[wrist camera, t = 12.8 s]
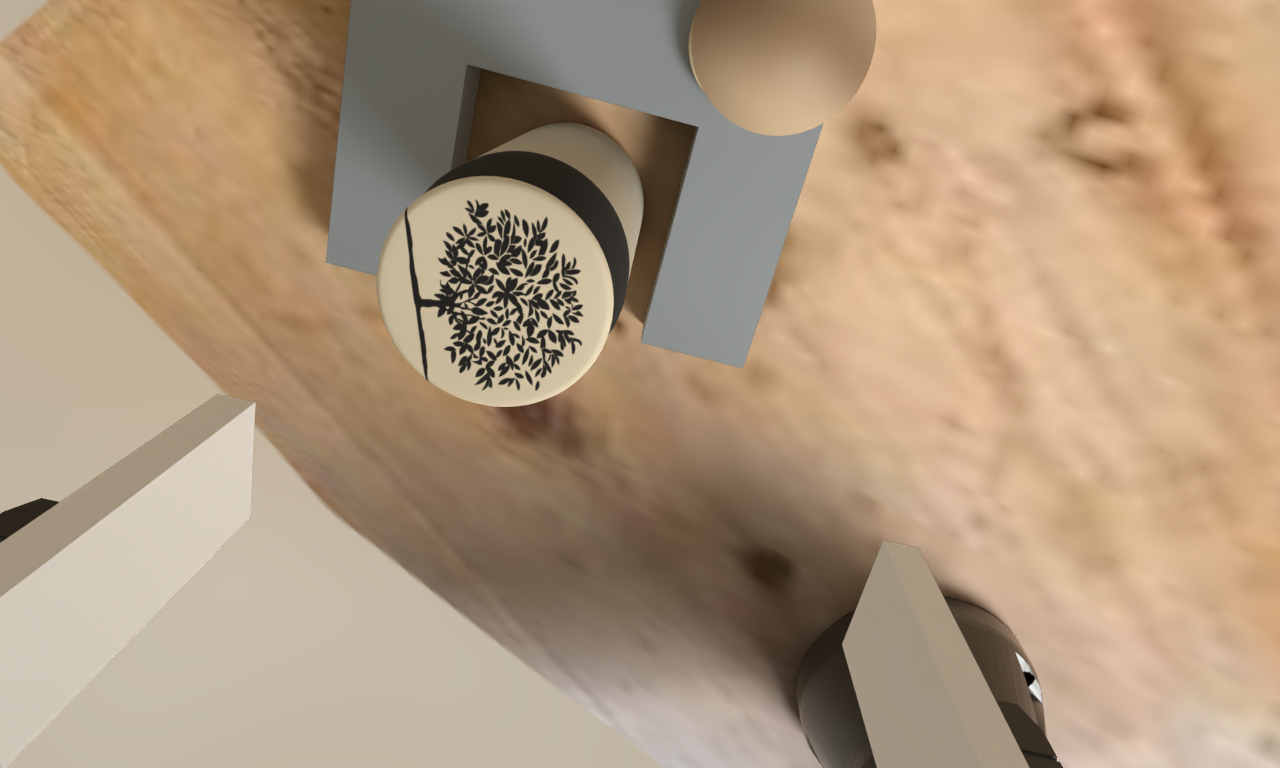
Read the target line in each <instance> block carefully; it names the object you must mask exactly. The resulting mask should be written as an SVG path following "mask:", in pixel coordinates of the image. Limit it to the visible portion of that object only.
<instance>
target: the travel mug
mask: <svg viewBox="0 0 1280 768" xmlns="http://www.w3.org/2000/svg"><path fill="white" fill-rule="evenodd" d="M643 212H644V195H643V188H642V183H641V180H640V177H639V174H638V172H637V170H636V167H635V166H634V164H633V162H632V160H631V159H630V157H629V156H628V155H627V153H626V152H625V151H624V150H623V149H622V148H621V147H620V145H619V144H618V143H616V142H615V141H614V140H613V139H612V138H610V137H609V136H607V135H606V134H604V133H602V132H600V131H599V130H596V129H594V128H592V127H589V126H585V125H582V124H577V123H568V122H564V123H552V124H547V125H543V126H540V127H537V128H535V129H533V130H531V131H529V132H527V133H525V134H523V135H521V136H519V137H517V138H515V139H513V140H511V141H509V142H507V143H505V144H503V145H501V146H499V147H497V148H495V149H493V150H491V151H489V152H487V153H485V154H483V155H481V156H478V157H476V158H474V159H472V160H470V161H468V162H466V163H464V164H462V165H460V166H458V167H456V168H454V169H453V170H451V171H450V172H448V173H446V174H445V175H443V176H442V177H441V178H440V179H438V180H437V181H436V182H435V183H434V184H433V185H432V186H431V187H430V188H429V189H428V190H427V191H426V192H425V193H424V194H423V195H422V196H420V197H419V198H417V199H416V200H415V201H414V202H413V203H412V204H410V205H409V206H408V207H407V208H406V209H405V210H404V212H403V213H402V214H401V215H400V216H399V218H398V219H397V220H396V222H395V223H394V224H393V226H392V228H391V230H390V231H389V233H388V235H387V237H386V240H385V242H384V244H383V247H382V251H381V254H380V258H379V263H378V270H377V294H378V302H379V307H380V311H381V314H382V318H383V321H384V323H385V326H386V328H387V331H388V333H389V335H390V337H391V339H392V341H393V342H394V344H395V345H396V347H397V349H398V350H399V352H400V353H401V354H402V356H403V357H404V358H405V359H406V361H407V362H408V363H409V364H410V365H411V366H412V367H413V368H414V369H415V370H416V371H417V372H418V373H419V374H420V375H421V376H423V377H424V378H425V379H426V380H428V381H429V382H430V383H432V384H433V385H435V386H436V387H438V388H440V389H441V390H443V391H445V392H447V393H449V394H451V395H453V396H455V397H458V398H460V399H463V400H466V401H469V402H473V403H477V404H481V405H488V406H499V407H511V406H521V405H528V404H532V403H536V402H539V401H542V400H545V399H548V398H550V397H552V396H555V395H557V394H558V393H560V392H562V391H564V390H565V389H567V388H568V387H570V386H571V385H573V384H574V383H575V382H576V381H577V380H579V379H580V378H581V377H582V376H583V375H584V374H585V373H586V372H587V371H588V370H589V368H590V367H591V366H592V364H593V363H594V362H595V360H596V359H597V357H598V356H599V354H600V352H601V351H602V348H603V346H604V344H605V342H606V339H607V337H608V335H609V333H610V332H611V330H612V329H613V327H614V325H615V323H616V321H617V319H618V317H619V315H620V312H621V310H622V306H623V303H624V299H625V295H626V290H627V286H628V281H629V277H630V272H631V268H632V264H633V259H634V255H635V250H636V246H637V241H638V237H639V232H640V228H641V224H642V219H643Z"/></svg>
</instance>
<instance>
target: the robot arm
mask: <svg viewBox="0 0 1280 768" xmlns="http://www.w3.org/2000/svg"><path fill="white" fill-rule="evenodd" d="M254 424H255V402H252V401H247V400H242V399H238V398H233V397H229V396H224V395H219V394H217V395H216V396H214V397H213V398H211V399H210V400H209V401H207V402H205V403H204V404H202V405H201V406H199V407H198V408H197V409H195V410H194V411H192V412H191V413H189V414H188V415H186V416H185V417H183V418H182V419H181V420H179V421H178V422H176V423H175V424H173V425H172V426H170V427H169V428H167V429H166V430H164V431H163V432H162V433H160V434H159V435H157V436H156V437H154V438H153V439H152V440H150V441H148V442H147V443H146V444H144V445H143V446H141V447H140V448H138V449H137V450H135V451H134V452H132V453H131V454H129V455H128V456H126V457H125V458H124V459H122V460H121V461H119V462H118V463H116V464H115V465H113V466H112V467H110V468H109V469H107V470H106V471H105V472H103V473H102V474H100V475H99V476H97V477H96V478H94V479H93V480H91V481H90V482H89V483H87V484H86V485H84V486H83V487H81V488H80V489H78V490H77V491H75V492H74V493H73V494H71V495H70V496H68V497H67V498H65V499H64V500H62V501H61V502H57V501H52V500H47V499H43V498H41V499H38V500H35V501H32V502H29V503H27V504H24V505H21V506H18V507H15V508H13V509H10V510H7V511H4V512H2V513H1V514H0V768H7V767H8V766H9V765H10V764H11V763H12V761H13V760H14V759H16V758H17V756H18V755H19V754H20V753H21V752H22V751H23V750H24V749H25V748H26V747H27V746H28V745H29V744H30V743H31V742H32V741H33V740H34V739H35V738H36V737H37V736H38V735H39V734H40V733H41V732H42V731H43V730H44V729H45V728H46V727H47V726H48V724H50V723H51V722H52V720H54V719H55V718H56V717H57V716H58V714H59V713H60V712H61V711H62V710H63V709H64V708H65V707H66V706H67V705H68V704H69V703H70V702H71V701H72V700H73V699H74V698H75V697H76V696H77V695H78V694H79V693H80V692H81V691H82V690H83V689H84V688H85V687H86V686H87V685H88V684H89V683H90V682H91V681H92V680H93V678H95V676H96V675H98V674H99V672H100V671H101V670H102V669H103V668H104V667H105V666H106V665H107V664H108V663H109V662H110V661H111V660H112V659H113V658H114V657H115V656H116V655H117V654H118V653H119V652H120V651H121V650H122V649H123V648H124V647H125V646H126V645H127V644H128V643H129V642H130V641H131V639H133V637H134V636H136V635H137V634H138V632H140V630H141V629H142V628H143V627H144V626H145V625H146V624H147V623H148V622H149V621H150V620H151V619H152V618H153V617H154V616H155V615H156V614H157V613H158V612H159V611H160V610H161V609H162V608H163V607H164V606H165V605H166V604H167V603H168V602H169V601H170V600H171V598H173V597H174V596H175V595H176V594H177V592H178V591H180V589H181V588H182V587H183V586H184V585H185V584H186V583H187V582H188V581H189V580H190V579H191V578H192V577H193V576H194V575H195V574H196V573H197V572H198V571H199V570H200V569H201V568H202V567H203V566H204V565H205V564H206V563H207V562H208V561H209V560H210V559H211V558H212V556H214V555H215V554H216V552H218V551H219V550H220V548H221V547H222V546H223V545H224V544H225V543H226V542H227V541H228V540H229V539H230V538H231V537H232V536H233V535H234V534H235V533H236V532H237V531H238V530H239V529H240V528H241V527H242V526H243V525H244V524H245V523H246V522H247V521H248V520H249V519H250V518H251V498H252V474H253V448H254ZM796 695H797V704H798V709H799V715H800V720H801V725H802V729H803V733H804V736H805V738H806V741H807V743H808V745H809V747H810V749H811V751H812V753H813V754H814V756H815V757H816V758H817V760H818V761H819V762H820V764H821V765H822V767H823V768H1063V767H1062V765H1061V763H1060V762H1057V756H1056V754H1055V752H1054V751H1053V749H1052V747H1051V745H1050V743H1049V741H1048V740H1047V735H1046V727H1045V719H1044V710H1043V704H1042V694H1041V688H1040V684H1039V680H1038V677H1037V675H1036V672H1035V670H1034V668H1033V666H1032V664H1031V662H1030V660H1029V658H1028V657H1027V655H1026V653H1025V651H1024V650H1023V648H1022V646H1021V645H1020V643H1019V641H1018V640H1017V638H1016V637H1015V635H1014V634H1013V633H1012V632H1011V631H1010V629H1009V628H1008V627H1007V626H1006V625H1004V624H1003V623H1002V622H1001V621H1000V620H999V619H997V618H996V617H994V616H993V615H991V614H990V613H988V612H986V611H984V610H982V609H981V608H978V607H976V606H974V605H971V604H968V603H965V602H962V601H958V600H954V599H949V598H944V597H943V595H942V593H941V591H940V589H939V587H938V585H937V583H936V581H935V579H934V577H933V575H932V573H931V571H930V569H929V567H928V565H927V563H926V561H925V559H924V557H923V555H922V553H921V551H920V549H919V548H916V547H912V546H907V545H903V544H898V543H894V542H889V541H884V540H883V542H882V545H881V547H880V550H879V552H878V555H877V557H876V560H875V562H874V565H873V568H872V570H871V573H870V575H869V578H868V580H867V583H866V585H865V588H864V590H863V593H862V595H861V598H860V600H859V603H858V605H857V608H856V610H855V612H854V613H851V614H850V615H848V616H846V617H845V618H843V619H841V620H840V621H838V622H837V623H836V624H834V625H833V626H832V627H830V628H829V629H828V630H827V631H826V632H825V633H824V634H823V635H822V636H821V637H820V638H819V639H818V640H817V641H816V642H815V644H814V645H813V646H812V648H811V649H810V650H809V652H808V654H807V655H806V657H805V659H804V661H803V663H802V666H801V668H800V672H799V675H798V680H797V689H796Z"/></svg>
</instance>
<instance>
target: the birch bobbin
mask: <svg viewBox="0 0 1280 768" xmlns="http://www.w3.org/2000/svg"><path fill="white" fill-rule="evenodd" d="M875 40H876V19H875V11H874V6H873V2H872V0H701V1H700V3H699V6H698V9H697V12H696V14H695V16H694V19H693V22H692V25H691V29H690V34H689V45H688V47H689V59H690V64H691V68H692V71H693V74H694V76H695V78H696V81H697V82H698V84H699V86H700V87H701V89H702V90H703V92H704V93H705V94H706V96H707V97H708V99H709V100H710V102H711V103H712V104H713V105H714V107H715V108H716V109H717V110H718V111H719V112H720V113H721V114H722V115H723V116H724V117H725V118H727V119H728V120H730V121H731V122H733V123H734V124H736V125H738V126H739V127H741V128H743V129H745V130H748V131H751V132H754V133H758V134H763V135H771V136H784V135H792V134H797V133H802V132H804V131H807V130H810V129H813V128H815V127H817V126H819V125H821V124H823V123H824V122H826V121H827V120H829V119H830V118H832V117H833V116H834V115H836V114H837V113H838V112H839V111H840V110H841V109H843V108H844V106H845V105H846V104H847V103H848V102H849V101H850V100H851V99H852V97H853V96H854V95H855V93H856V92H857V90H858V89H859V87H860V86H861V84H862V82H863V80H864V78H865V76H866V74H867V71H868V69H869V66H870V64H871V60H872V56H873V53H874V47H875Z"/></svg>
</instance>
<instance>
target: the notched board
mask: <svg viewBox="0 0 1280 768" xmlns="http://www.w3.org/2000/svg"><path fill="white" fill-rule="evenodd" d="M700 1H701V0H351V7H350V17H349V27H348V38H347V48H346V59H345V69H344V80H343V90H342V100H341V111H340V121H339V132H338V142H337V153H336V163H335V173H334V184H333V194H332V205H331V215H330V225H329V236H328V246H327V257H326V263H330V264H333V265H337V266H341V267H345V268H349V269H353V270H357V271H361V272H365V273H369V274H373V275H377V270H378V263H379V258H380V254H381V251H382V247H383V244H384V242H385V240H386V237H387V235H388V233H389V231H390V230H391V228H392V226H393V224H394V223H395V222H396V220H397V219H398V218H399V216H400V215H401V214H402V213H403V212H404V210H405V209H406V208H407V207H408V206H409V205H410V204H412V203H413V202H414V201H415V200H416V199H417V198H419V197H420V196H422V195H423V194H424V193H425V192H426V191H427V190H428V189H429V188H430V187H431V186H432V185H433V184H434V183H435V182H436V181H437V180H438V179H440V178H441V177H442V176H443V175H445V174H446V173H448V172H450V171H451V170H453V169H454V168H456V167H458V166H460V165H462V164H464V163H466V161H467V155H468V149H469V142H470V136H471V130H472V124H473V117H474V111H475V105H476V99H477V92H478V86H479V80H480V74H481V68H482V69H486V70H489V71H493V72H497V73H501V74H504V75H508V76H512V77H515V78H519V79H523V80H526V81H530V82H534V83H538V84H541V85H545V86H549V87H552V88H556V89H560V90H563V91H567V92H571V93H575V94H578V95H582V96H586V97H589V98H593V99H597V100H600V101H604V102H608V103H612V104H615V105H619V106H623V107H626V108H630V109H634V110H637V111H641V112H645V113H648V114H652V115H656V116H660V117H663V118H667V119H671V120H674V121H678V122H682V123H685V124H689V125H693V126H696V129H695V133H694V137H693V141H692V144H691V148H690V152H689V155H688V159H687V163H686V167H685V170H684V174H683V178H682V182H681V185H680V189H679V193H678V197H677V200H676V204H675V208H674V211H673V215H672V219H671V223H670V226H669V230H668V234H667V238H666V241H665V245H664V249H663V253H662V256H661V260H660V264H659V267H658V271H657V275H656V279H655V282H654V286H653V290H652V294H651V297H650V301H649V305H648V309H647V312H646V316H645V320H644V323H643V330H642V338H641V343H644V344H648V345H652V346H656V347H660V348H664V349H668V350H672V351H676V352H680V353H684V354H688V355H692V356H696V357H700V358H704V359H707V360H711V361H715V362H719V363H723V364H727V365H731V366H735V367H739V368H743V366H744V363H745V360H746V357H747V354H748V351H749V348H750V345H751V342H752V339H753V336H754V333H755V330H756V327H757V324H758V321H759V318H760V315H761V311H762V308H763V305H764V302H765V299H766V296H767V293H768V290H769V287H770V284H771V281H772V278H773V275H774V272H775V269H776V266H777V263H778V260H779V257H780V254H781V251H782V248H783V245H784V242H785V238H786V235H787V232H788V229H789V226H790V223H791V220H792V217H793V214H794V211H795V208H796V205H797V202H798V199H799V196H800V193H801V190H802V187H803V184H804V181H805V178H806V175H807V172H808V168H809V165H810V162H811V159H812V156H813V153H814V150H815V147H816V144H817V141H818V138H819V135H820V132H821V129H822V126H823V124H821V125H819V126H817V127H815V128H813V129H810V130H807V131H804V132H802V133H797V134H792V135H784V136H771V135H763V134H758V133H754V132H751V131H748V130H745V129H743V128H741V127H739V126H738V125H736V124H734V123H733V122H731V121H730V120H728V119H727V118H725V117H724V116H723V115H722V114H721V113H720V112H719V111H718V110H717V109H716V108H715V107H714V105H713V104H712V103H711V102H710V100H709V99H708V97H707V96H706V94H705V93H704V92H703V90H702V89H701V87H700V86H699V84H698V82H697V81H696V78H695V76H694V74H693V71H692V68H691V64H690V59H689V47H688V45H689V34H690V29H691V25H692V22H693V19H694V16H695V14H696V12H697V9H698V6H699V3H700Z"/></svg>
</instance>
